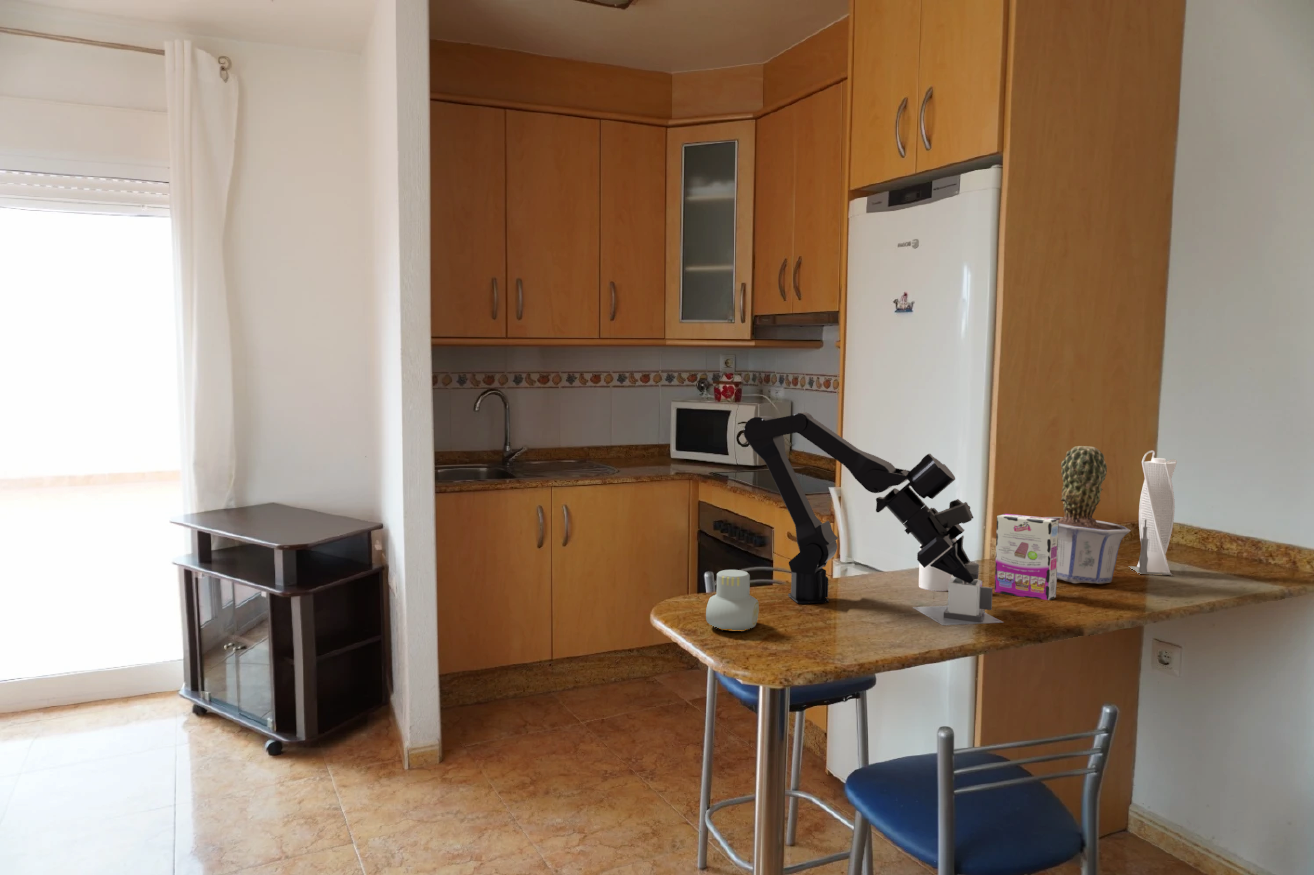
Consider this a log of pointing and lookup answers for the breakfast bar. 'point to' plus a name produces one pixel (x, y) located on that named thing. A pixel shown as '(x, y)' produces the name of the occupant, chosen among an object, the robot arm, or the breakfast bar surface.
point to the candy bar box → (1026, 556)
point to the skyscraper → (1156, 515)
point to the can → (933, 578)
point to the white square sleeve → (968, 600)
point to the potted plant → (1085, 521)
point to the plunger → (971, 569)
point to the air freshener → (732, 602)
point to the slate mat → (938, 616)
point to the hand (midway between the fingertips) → (973, 578)
